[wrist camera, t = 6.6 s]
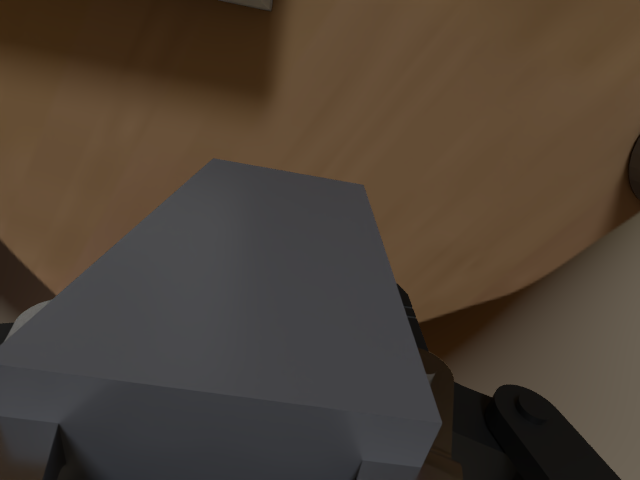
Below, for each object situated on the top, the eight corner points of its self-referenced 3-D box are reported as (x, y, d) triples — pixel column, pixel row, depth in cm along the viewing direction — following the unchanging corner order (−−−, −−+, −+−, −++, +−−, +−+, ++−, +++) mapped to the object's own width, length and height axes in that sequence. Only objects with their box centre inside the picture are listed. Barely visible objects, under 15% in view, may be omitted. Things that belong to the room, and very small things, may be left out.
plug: (363, 185, 12) (442, 422, 4) (334, 305, 14) (349, 617, 6) (213, 158, 12) (-20, 362, 4) (206, 286, 14) (49, 590, 6)
